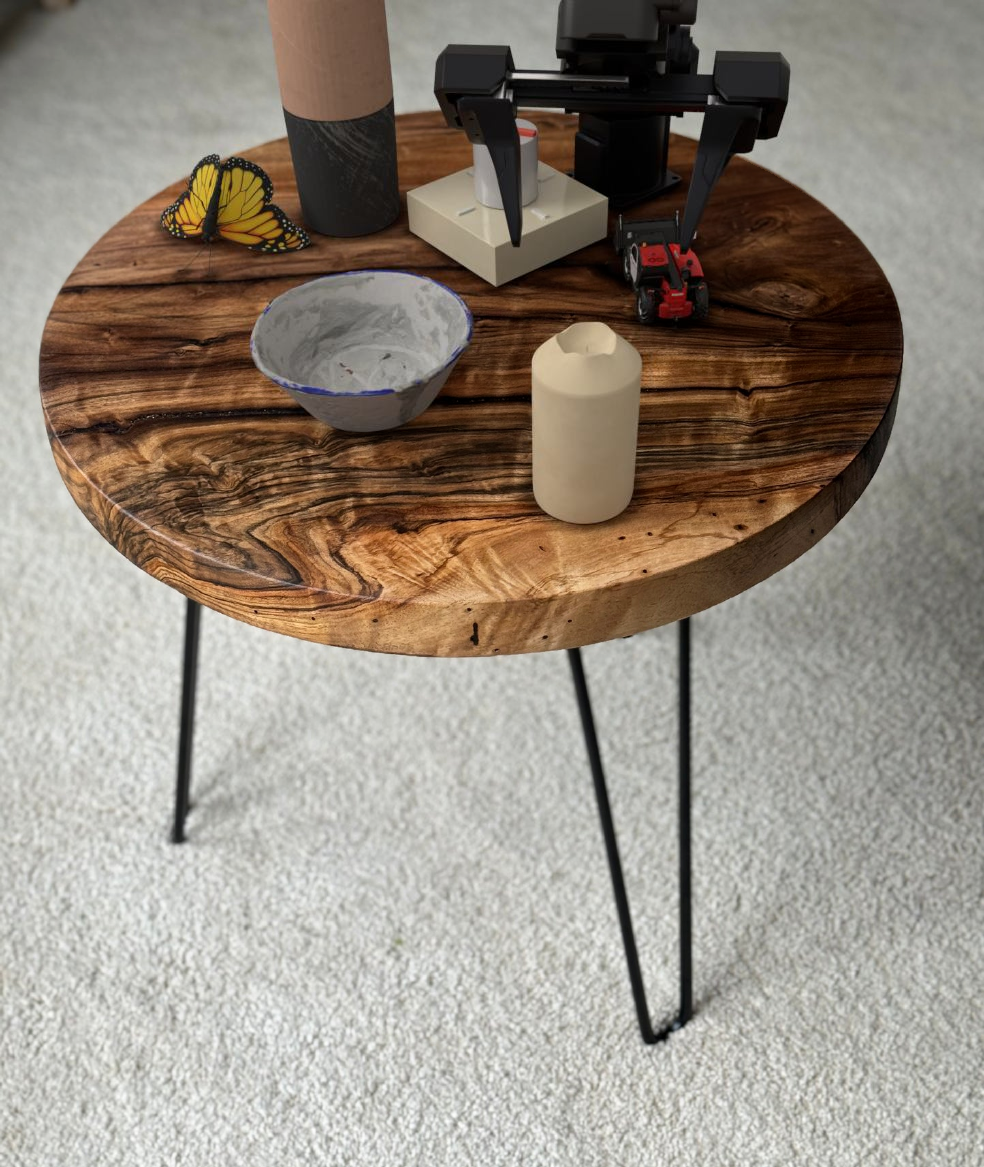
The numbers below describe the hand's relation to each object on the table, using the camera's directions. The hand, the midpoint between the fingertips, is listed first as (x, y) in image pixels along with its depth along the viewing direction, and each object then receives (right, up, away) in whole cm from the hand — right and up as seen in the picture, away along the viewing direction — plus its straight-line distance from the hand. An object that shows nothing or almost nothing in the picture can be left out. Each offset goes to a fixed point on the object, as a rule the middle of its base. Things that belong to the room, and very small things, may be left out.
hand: (598, 249), depth 68 cm
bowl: (-13, -7, +7) cm, 17 cm away
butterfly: (-26, +7, +16) cm, 31 cm away
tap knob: (-5, +9, +18) cm, 20 cm away
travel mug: (-16, +9, +23) cm, 29 cm away
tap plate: (-5, +6, +20) cm, 22 cm away
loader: (+5, +1, +15) cm, 16 cm away
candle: (-1, -13, 0) cm, 14 cm away
